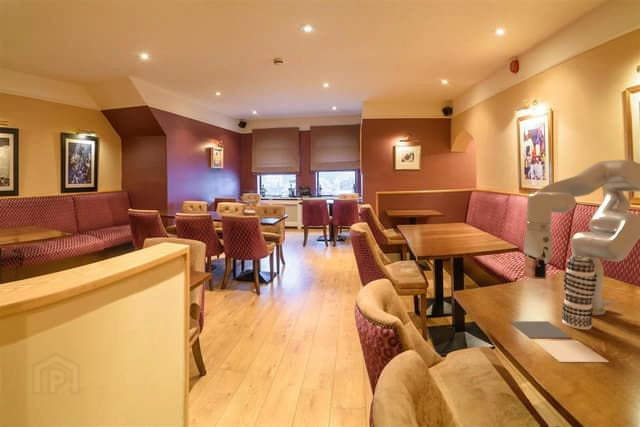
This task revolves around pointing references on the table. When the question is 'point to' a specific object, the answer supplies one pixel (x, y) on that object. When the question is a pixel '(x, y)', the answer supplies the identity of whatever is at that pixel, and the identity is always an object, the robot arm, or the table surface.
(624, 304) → the table surface
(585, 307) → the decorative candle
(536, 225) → the robot arm
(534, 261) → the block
